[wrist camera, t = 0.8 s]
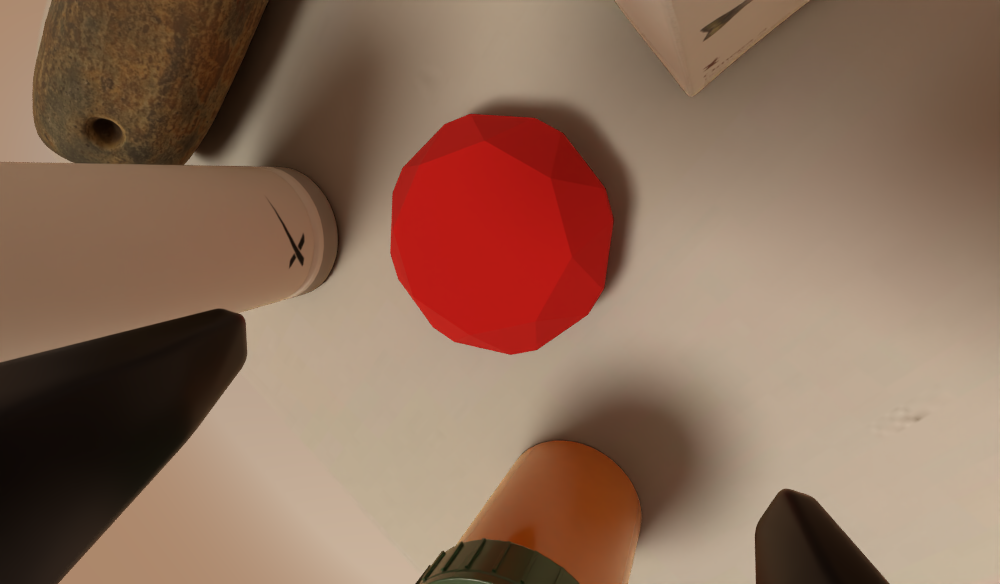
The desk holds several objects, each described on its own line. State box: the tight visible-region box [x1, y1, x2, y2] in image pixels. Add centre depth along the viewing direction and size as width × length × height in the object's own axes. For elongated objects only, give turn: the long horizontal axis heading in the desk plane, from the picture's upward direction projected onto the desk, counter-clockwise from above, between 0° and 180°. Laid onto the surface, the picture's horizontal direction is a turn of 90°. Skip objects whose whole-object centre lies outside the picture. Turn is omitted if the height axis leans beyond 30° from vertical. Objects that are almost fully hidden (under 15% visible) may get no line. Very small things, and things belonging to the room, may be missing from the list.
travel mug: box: [0, 162, 338, 362], centre depth 17 cm, size 6×7×20 cm
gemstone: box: [390, 114, 614, 355], centre depth 21 cm, size 9×9×3 cm
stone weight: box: [33, 0, 269, 165], centre depth 22 cm, size 15×7×7 cm, turn 147°
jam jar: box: [456, 440, 642, 584], centre depth 19 cm, size 6×6×9 cm
